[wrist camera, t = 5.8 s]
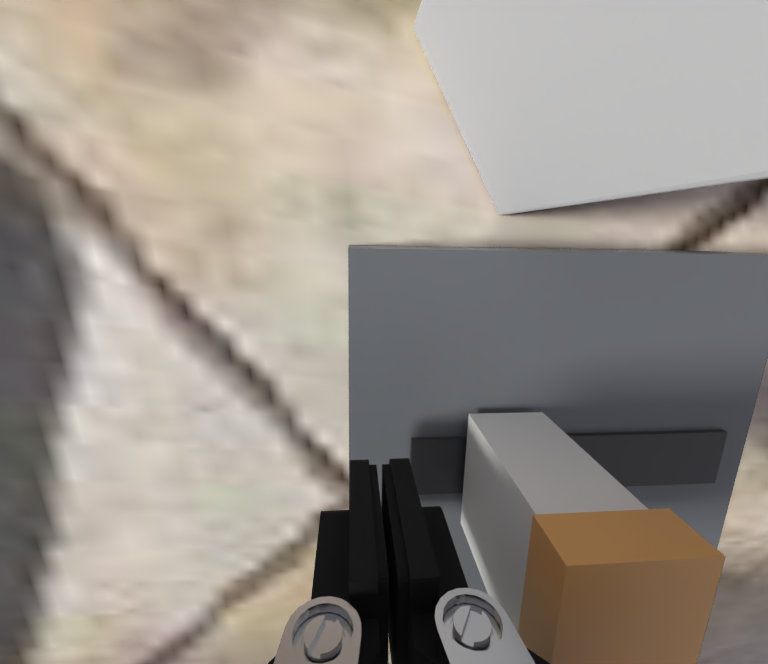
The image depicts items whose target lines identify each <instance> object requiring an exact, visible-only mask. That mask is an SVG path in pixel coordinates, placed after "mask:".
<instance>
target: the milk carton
mask: <svg viewBox="0 0 768 664" xmlns="http://www.w3.org/2000/svg"><path fill="white" fill-rule="evenodd" d="M414 32H415V34H416V36H417V39H418V41H419V43H420V45H421V47H422V49H423V52H424V54H425V56H426V58H427V60H428V62H429V65H430V67H431V69H432V71H433V73H434V76H435V78H436V80H437V82H438V84H439V86H440V89H441V91H442V93H443V95H444V97H445V100H446V102H447V104H448V106H449V108H450V110H451V113H452V115H453V117H454V119H455V121H456V123H457V126H458V128H459V130H460V132H461V134H462V137H463V139H464V141H465V143H466V145H467V147H468V150H469V152H470V154H471V156H472V158H473V160H474V163H475V165H476V167H477V169H478V171H479V174H480V176H481V178H482V180H483V182H484V184H485V187H486V189H487V191H488V193H489V195H490V197H491V200H492V202H493V204H494V206H495V208H496V210H497V213H498V214H499V215H507V214H515V213H522V212H529V211H536V210H543V209H551V208H558V207H565V206H572V205H579V204H587V203H594V202H601V201H608V200H615V199H623V198H630V197H637V196H644V195H651V194H659V193H666V192H673V191H680V190H688V189H695V188H702V187H709V186H716V185H724V184H731V183H738V182H745V181H752V180H760V179H767V178H768V0H422V1H421V5H420V8H419V11H418V14H417V18H416V21H415V24H414Z"/></svg>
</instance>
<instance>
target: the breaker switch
mask: <svg viewBox="0 0 768 664" xmlns="http://www.w3.org/2000/svg"><path fill="white" fill-rule="evenodd" d="M461 525H462V528H463V531H464V533H465V536H466V538H467V541H468V544H469V546H470V549H471V551H472V554H473V557H474V559H475V562H476V564H477V567H478V570H479V572H480V575H481V577H482V580H483V583H484V585H485V588H486V590H487V593H488V595H490V596H491V597H492V598H493V599H495V600H496V601H497V602H498V603H499V604H500V605H501V606H502V608H503V609H504V610H505V612H506V613H507V615H508V617H509V618H510V620H511V622H512V624H513V625H514V627H515V629H516V631H517V632H518V634H519V636H520V638H521V639H522V641H523V643H524V645H525V646H526V648H528V649H529V650H531V651H532V652H534V653H535V654H537V655H538V656H540V657H541V658H543V659H544V660H546V661H547V662H549V663H550V664H697V660H698V657H699V653H700V649H701V646H702V642H703V638H704V634H705V631H706V627H707V623H708V620H709V616H710V612H711V609H712V605H713V601H714V598H715V594H716V590H717V586H718V583H719V579H720V575H721V572H722V568H723V564H724V561H725V556H724V555H723V554H722V553H721V552H719V551H718V550H717V549H716V548H715V547H714V546H712V545H711V544H710V543H709V542H708V541H707V540H705V539H704V538H703V537H702V536H701V535H700V534H698V533H697V532H696V531H695V530H694V529H692V528H691V527H690V526H689V525H688V524H687V523H685V522H684V521H683V520H682V519H681V518H680V517H678V516H677V515H676V514H675V513H674V512H673V511H671V510H670V509H669V508H668V509H648V508H647V507H646V506H645V505H643V504H642V503H641V502H640V501H639V500H638V499H637V498H636V497H635V496H634V495H632V494H631V493H630V492H629V491H628V490H627V489H626V488H625V487H624V486H623V485H622V484H620V483H619V482H618V481H617V480H616V479H615V478H614V477H613V476H612V475H611V474H610V473H608V472H607V471H606V470H605V469H604V468H603V467H602V466H601V465H600V464H599V463H598V462H596V461H595V460H594V459H593V458H592V457H591V456H590V455H589V454H588V453H587V452H585V451H584V450H583V449H582V448H581V447H580V446H579V445H578V444H577V443H576V442H575V441H573V440H572V439H571V438H570V437H569V436H568V435H567V434H566V433H565V432H564V431H563V430H561V429H560V428H559V427H558V426H557V425H556V424H555V423H554V422H553V421H552V420H550V419H549V418H548V417H547V416H546V415H545V414H544V413H543V412H523V413H476V414H469V416H468V430H467V443H466V456H465V470H464V483H463V496H462V510H461Z"/></svg>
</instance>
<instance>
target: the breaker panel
mask: <svg viewBox="0 0 768 664" xmlns="http://www.w3.org/2000/svg"><path fill="white" fill-rule="evenodd" d="M348 254H349V491H350V460H367V459H369V465H377V474H378V483H379V491H380V500H381V501H382V464H389V459H396V458H409V460H410V464H411V468H412V472H413V475H414V479H415V483H416V487H417V491H418V495H419V498H420V502H421V506H422V507H430V506H440V507H441V508H442V510H443V513H444V516H445V519H446V522H447V525H448V528H449V531H450V534H451V537H452V540H453V543H454V546H455V549H456V552H457V555H458V558H459V561H460V564H461V567H462V570H463V573H464V576H465V579H466V582H467V585H468V588H472V589H476V590H480V591H482V592H484V593H486V594H488V593H487V590H486V588H485V585H484V583H483V580H482V577H481V575H480V572H479V570H478V567H477V564H476V562H475V559H474V557H473V554H472V551H471V549H470V546H469V544H468V541H467V538H466V536H465V533H464V531H463V528H462V525H461V510H462V496H463V483H464V470H465V456H466V443H467V430H468V416H469V414H476V413H523V412H543V413H544V414H545V415H546V416H547V417H548V418H549V419H550V420H552V421H553V422H554V423H555V424H556V425H557V426H558V427H559V428H560V429H561V430H563V431H564V432H565V433H566V434H567V435H568V436H569V437H570V438H571V439H572V440H573V441H575V442H576V443H577V444H578V445H579V446H580V447H581V448H582V449H583V450H584V451H585V452H587V453H588V454H589V455H590V456H591V457H592V458H593V459H594V460H595V461H596V462H598V463H599V464H600V465H601V466H602V467H603V468H604V469H605V470H606V471H607V472H608V473H610V474H611V475H612V476H613V477H614V478H615V479H616V480H617V481H618V482H619V483H620V484H622V485H623V486H624V487H625V488H626V489H627V490H628V491H629V492H630V493H631V494H632V495H634V496H635V497H636V498H637V499H638V500H639V501H640V502H641V503H642V504H643V505H645V506H646V507H647V508H648V509H668V508H669V509H670V510H671V511H673V512H674V513H675V514H676V515H677V516H678V517H680V518H681V519H682V520H683V521H684V522H685V523H687V524H688V525H689V526H690V527H691V528H692V529H694V530H695V531H696V532H697V533H698V534H700V535H701V536H702V537H703V538H704V539H705V540H707V541H708V542H709V543H710V544H711V545H712V546H714V547H715V548H716V549H717V547H718V543H719V539H720V535H721V532H722V528H723V524H724V520H725V516H726V513H727V509H728V505H729V501H730V497H731V494H732V490H733V486H734V482H735V478H736V475H737V471H738V467H739V463H740V459H741V456H742V452H743V448H744V444H745V440H746V437H747V433H748V429H749V425H750V422H751V418H752V414H753V410H754V406H755V403H756V399H757V395H758V391H759V387H760V384H761V380H762V376H763V372H764V368H765V365H766V361H767V357H768V254H757V253H733V252H709V251H682V250H619V249H557V248H494V247H432V246H369V245H349V248H348Z"/></svg>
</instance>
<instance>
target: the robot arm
mask: <svg viewBox="0 0 768 664" xmlns="http://www.w3.org/2000/svg"><path fill="white" fill-rule="evenodd" d="M388 633H389V643H390V654H391V664H550V663H549V662H547V661H546V660H544V659H543V658H541V657H540V656H538V655H537V654H535V653H534V652H532V651H531V650H529V649H528V648H526V646H525V645H524V643H523V641H522V639H521V638H520V636H519V634H518V632H517V631H516V629H515V627H514V625H513V624H512V622H511V620H510V618H509V617H508V615H507V613H506V612H505V610H504V609H503V608H502V606H501V605H500V604H499V603H498V602H497V601H496V600H495V599H493V598H492V597H491V596H490V595H488V594H486V593H484V592H482V591H480V590H476V589H472V588H468V585H467V582H466V579H465V576H464V573H463V570H462V567H461V564H460V561H459V558H458V555H457V552H456V549H455V546H454V543H453V540H452V537H451V534H450V531H449V528H448V525H447V522H446V519H445V516H444V513H443V510H442V508H441V507H440V506H430V507H422V506H421V502H420V498H419V495H418V491H417V487H416V483H415V479H414V475H413V472H412V468H411V464H410V460H409V458H396V459H389V464H382V501H381V500H380V491H379V483H378V474H377V465H369V459H367V460H350V491H349V510H341V511H321V515H320V523H319V533H318V542H317V551H316V560H315V569H314V578H313V588H312V597H311V600H310V601H308V602H306V603H305V604H303V605H302V606H300V607H299V608H298V609H297V610H296V611H295V612H294V613H293V614H292V616H291V617H290V619H289V621H288V623H287V625H286V627H285V629H284V632H283V636H282V639H281V642H280V645H279V648H278V651H277V654H276V657H274V658H273V659H272V660H271V661H270V662H269V663H268V664H388Z"/></svg>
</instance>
